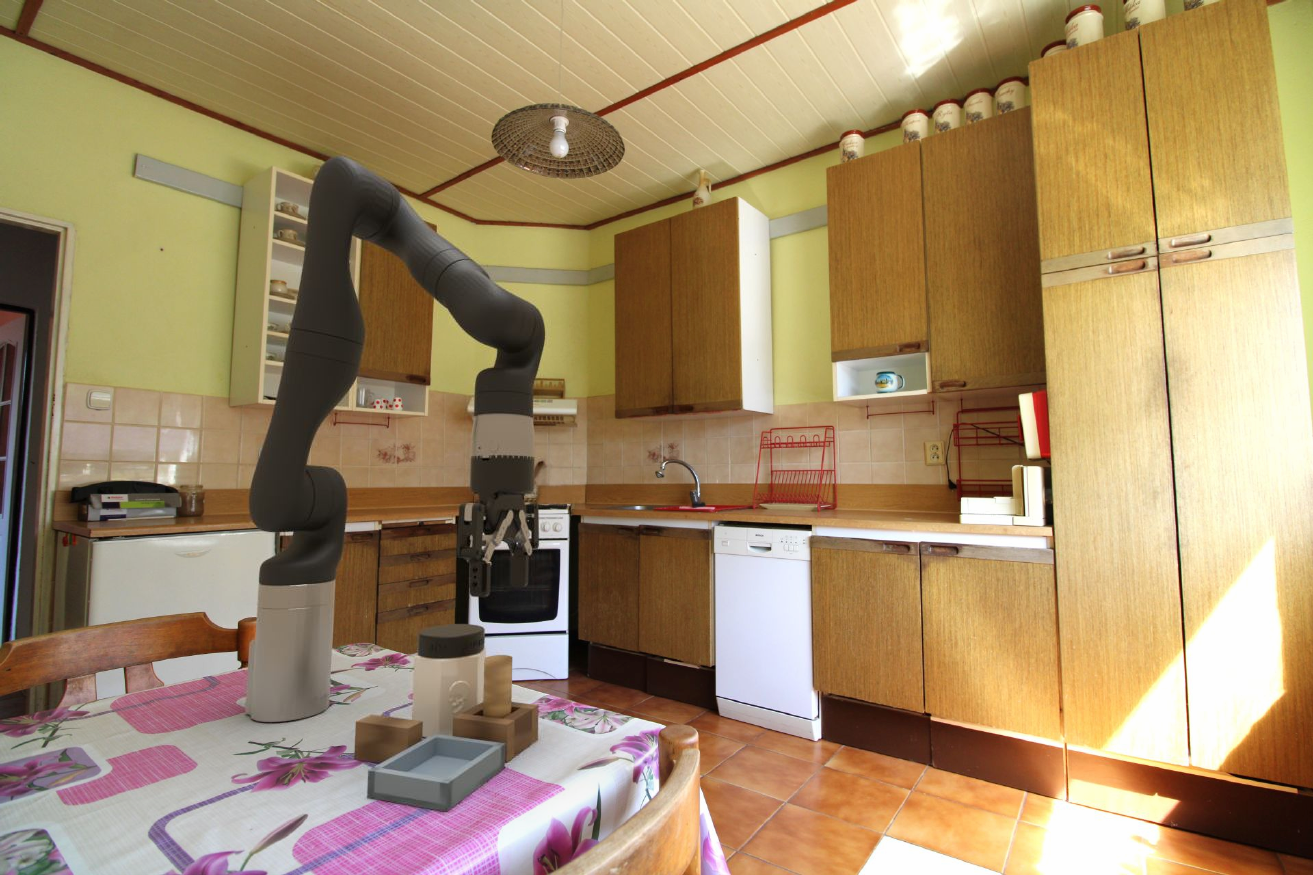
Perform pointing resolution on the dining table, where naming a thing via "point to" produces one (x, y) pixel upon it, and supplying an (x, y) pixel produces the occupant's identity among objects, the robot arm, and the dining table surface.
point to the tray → (436, 772)
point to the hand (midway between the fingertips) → (500, 591)
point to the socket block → (500, 727)
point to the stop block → (385, 737)
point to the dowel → (497, 686)
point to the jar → (447, 675)
